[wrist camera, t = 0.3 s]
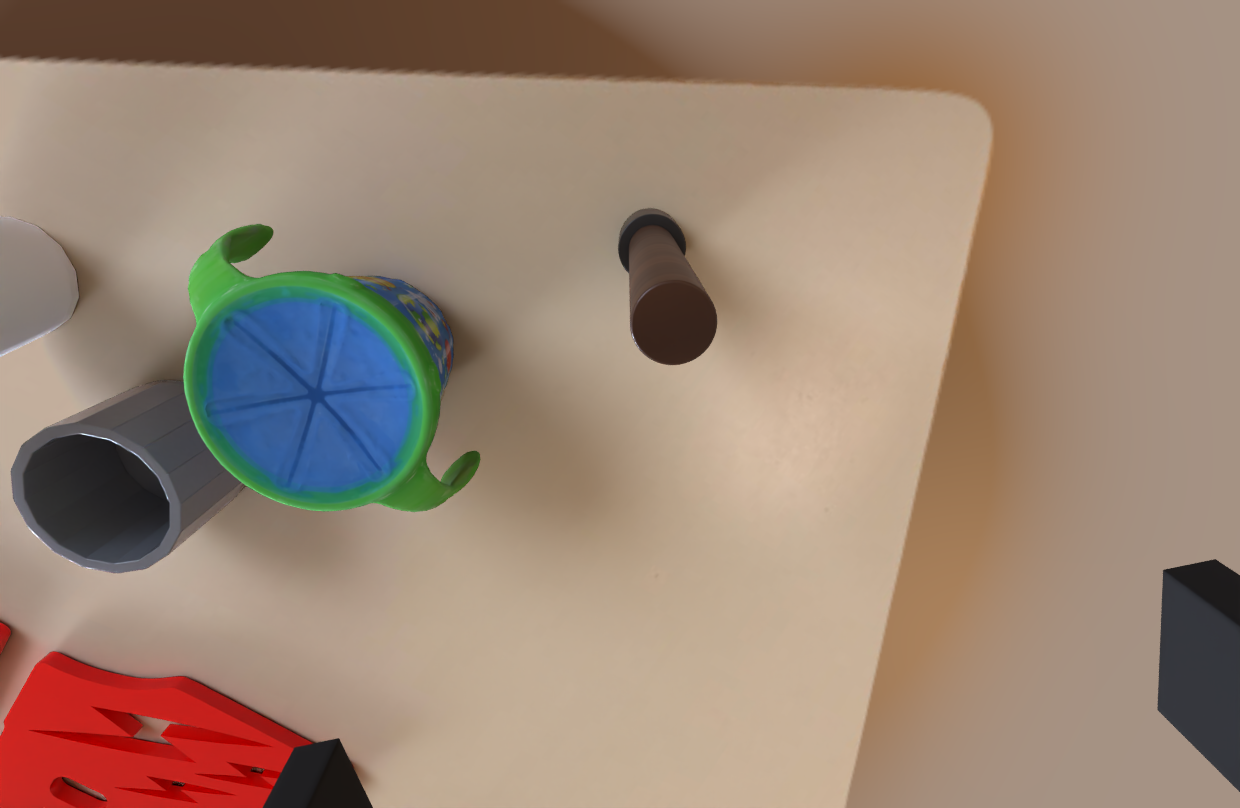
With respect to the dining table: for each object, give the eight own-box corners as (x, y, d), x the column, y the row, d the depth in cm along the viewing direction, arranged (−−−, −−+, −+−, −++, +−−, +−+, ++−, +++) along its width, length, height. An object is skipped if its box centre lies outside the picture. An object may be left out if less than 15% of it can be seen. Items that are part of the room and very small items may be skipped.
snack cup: (221, 272, 37) (78, 311, 27) (373, 162, 35) (277, 162, 25) (400, 493, 41) (331, 593, 32) (544, 406, 39) (518, 485, 30)
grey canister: (89, 392, 39) (-20, 438, 33) (224, 369, 39) (141, 411, 32) (146, 517, 42) (56, 583, 35) (273, 496, 41) (205, 560, 35)
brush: (614, 214, 36) (599, 271, 17) (675, 203, 35) (729, 249, 17) (624, 275, 37) (622, 393, 18) (683, 264, 36) (744, 373, 18)
